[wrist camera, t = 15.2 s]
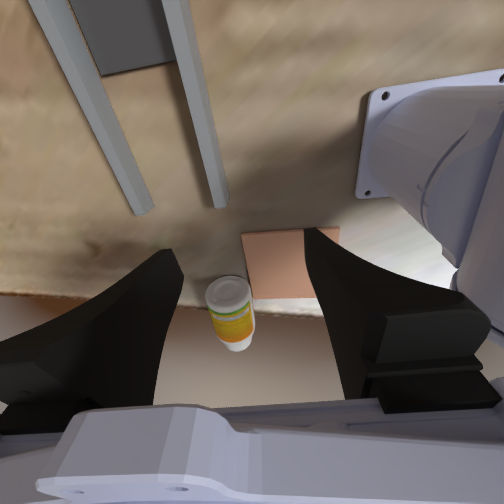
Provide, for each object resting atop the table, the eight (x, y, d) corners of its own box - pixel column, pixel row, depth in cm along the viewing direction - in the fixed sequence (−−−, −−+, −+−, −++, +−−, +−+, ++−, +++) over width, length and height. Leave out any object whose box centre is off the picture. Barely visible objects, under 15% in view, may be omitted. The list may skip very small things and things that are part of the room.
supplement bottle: (196, 306, 24) (213, 353, 29) (245, 311, 22) (253, 359, 28) (213, 272, 28) (225, 320, 33) (254, 275, 27) (259, 324, 32)
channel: (171, -78, 12) (155, -104, 10) (229, 198, 21) (225, 207, 20) (35, -35, 13) (2, -52, 12) (145, 206, 23) (135, 215, 21)
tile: (338, 226, 22) (339, 228, 22) (331, 294, 28) (332, 297, 27) (241, 233, 23) (240, 235, 23) (253, 296, 29) (253, 298, 29)
